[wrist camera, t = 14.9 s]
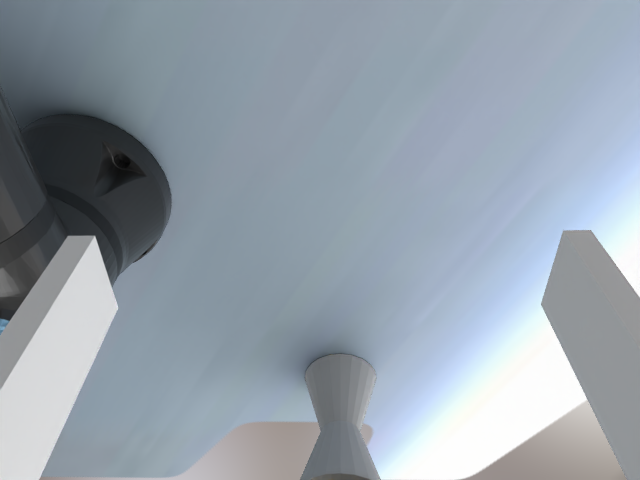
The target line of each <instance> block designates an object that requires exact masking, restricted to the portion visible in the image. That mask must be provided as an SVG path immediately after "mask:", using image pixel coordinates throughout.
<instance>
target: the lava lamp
mask: <svg viewBox="0 0 640 480" xmlns="http://www.w3.org/2000/svg"><path fill="white" fill-rule="evenodd" d="M305 381H306V384H307V387H308V391H309V394H310V397H311V400H312V404H313V407H314V410H315V414H316V417H317V420H318V423H319V427H320V430H321V433H320V435H319V437H318V439H317V442H316V444H315V447H314V449H313V451H312V453H311V456H310V458H309V460H308V463H307V465H306V467H305V470H304V472H303V474H302V477H301V479H300V480H381V479H380V477H379V475H378V472H377V470H376V468H375V465H374V463H373V461H372V458H371V456H370V454H369V451H368V449H367V447H366V444H365V442H364V440H363V438H362V435H361V433H360V430H361V427H362V424H363V421H364V418H365V414H366V411H367V408H368V405H369V401H370V398H371V395H372V392H373V388H374V385H375V382H376V374H375V370H374V369H373V368H372V366H371V365H370V364H369V363H368V362H366V361H365V360H363V359H362V358H359V357H356V356H353V355H347V354H333V355H327V356H324V357H321V358H319V359H317V360H316V361H314V362H313V363H311V364H310V366H309V367H308V369H307V370H306V374H305Z"/></svg>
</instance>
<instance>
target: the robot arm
mask: <svg viewBox="0 0 640 480" xmlns="http://www.w3.org/2000/svg"><path fill="white" fill-rule="evenodd" d="M170 213H171V194H170V189H169V185H168V182H167V179H166V177H165V175H164V173H163V171H162V169H161V167H160V166H159V164H158V163H157V161H156V160H155V158H154V157H153V156H152V155H151V154H150V152H149V151H148V150H147V149H146V148H145V147H144V146H143V145H142V144H140V143H139V142H138V141H137V140H136V139H134V138H133V137H132V136H130V135H129V134H127V133H126V132H124V131H123V130H121V129H119V128H117V127H115V126H113V125H111V124H109V123H106V122H104V121H101V120H98V119H95V118H91V117H87V116H81V115H69V114H64V115H54V116H49V117H45V118H42V119H39V120H37V121H35V122H33V123H31V124H29V125H28V126H26V127H25V128H24V129H23V130H21V131H20V129H19V127H18V125H17V122H16V120H15V118H14V115H13V113H12V111H11V109H10V106H9V104H8V102H7V99H6V97H5V95H4V93H3V90H2V88H1V86H0V480H39V478H40V476H41V474H42V472H43V470H44V468H45V466H46V463H47V461H48V459H49V457H50V455H51V453H52V450H53V448H54V446H55V444H56V442H57V440H58V437H59V435H60V433H61V431H62V429H63V427H64V424H65V422H66V420H67V418H68V416H69V414H70V411H71V409H72V407H73V405H74V403H75V401H76V398H77V396H78V394H79V392H80V390H81V388H82V385H83V383H84V381H85V379H86V377H87V375H88V372H89V370H90V368H91V366H92V364H93V362H94V359H95V357H96V355H97V353H98V351H99V349H100V346H101V344H102V342H103V340H104V338H105V336H106V333H107V331H108V329H109V327H110V325H111V323H112V320H113V318H114V316H115V314H116V312H117V310H118V306H117V302H116V299H115V296H114V293H113V290H112V287H113V285H114V283H115V281H116V279H117V277H118V275H119V274H121V273H122V272H123V271H124V270H125V269H126V268H127V267H128V266H130V265H131V264H132V263H134V262H136V261H137V260H139V259H141V258H142V257H144V256H145V255H146V254H147V253H149V252H150V251H151V250H152V249H153V247H154V246H155V245H156V244H157V242H158V241H159V239H160V238H161V236H162V234H163V231H164V229H165V227H166V225H167V223H168V220H169V217H170ZM541 305H542V307H543V309H544V311H545V313H546V315H547V318H548V320H549V322H550V324H551V326H552V328H553V330H554V332H555V334H556V336H557V338H558V340H559V342H560V344H561V346H562V348H563V350H564V352H565V354H566V356H567V358H568V360H569V362H570V364H571V367H572V369H573V371H574V373H575V375H576V377H577V379H578V381H579V383H580V385H581V387H582V389H583V391H584V393H585V395H586V397H587V399H588V401H589V403H590V405H591V407H592V409H593V411H594V413H595V416H596V418H597V420H598V422H599V424H600V426H601V428H602V430H603V432H604V434H605V436H606V438H607V440H608V442H609V444H610V446H611V448H612V450H613V452H614V454H615V456H616V458H617V460H618V462H619V465H620V466H621V468H622V471H623V473H624V475H625V476H626V479H627V480H640V298H639V296H638V295H637V293H636V292H635V291H634V289H633V288H632V286H631V285H630V284H629V282H628V281H627V280H626V278H625V277H624V275H623V274H622V273H621V271H620V270H619V268H618V267H617V266H616V264H615V263H614V262H613V260H612V259H611V257H610V256H609V255H608V253H607V252H606V250H605V249H604V248H603V246H602V245H601V244H600V242H599V241H598V239H597V238H596V237H595V235H594V234H593V233H592V231H591V230H573V231H563V233H562V236H561V240H560V243H559V246H558V250H557V253H556V256H555V259H554V263H553V266H552V269H551V273H550V276H549V279H548V283H547V286H546V289H545V293H544V296H543V299H542V303H541Z"/></svg>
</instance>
